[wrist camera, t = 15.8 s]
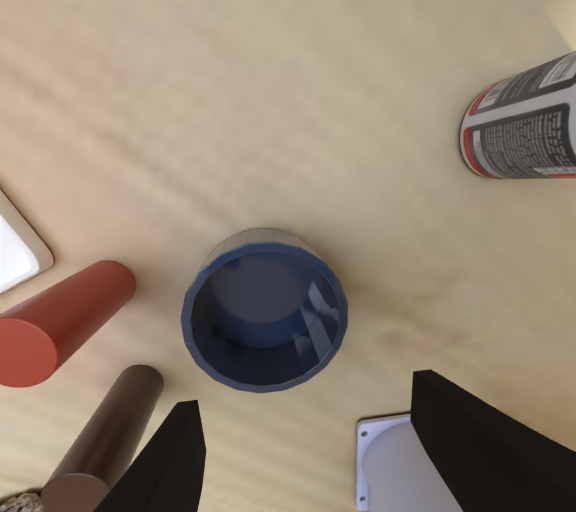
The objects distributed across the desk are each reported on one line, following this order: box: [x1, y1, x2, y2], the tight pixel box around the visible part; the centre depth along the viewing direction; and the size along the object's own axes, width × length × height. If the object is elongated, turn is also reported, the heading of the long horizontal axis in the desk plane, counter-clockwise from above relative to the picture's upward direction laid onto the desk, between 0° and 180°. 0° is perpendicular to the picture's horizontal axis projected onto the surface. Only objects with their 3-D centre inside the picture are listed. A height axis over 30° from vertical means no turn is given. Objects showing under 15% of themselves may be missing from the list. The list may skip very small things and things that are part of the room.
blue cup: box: [181, 228, 348, 393], centre depth 17 cm, size 9×9×4 cm
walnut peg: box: [41, 365, 163, 512], centre depth 16 cm, size 3×3×8 cm
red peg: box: [0, 261, 135, 387], centre depth 14 cm, size 3×3×8 cm
